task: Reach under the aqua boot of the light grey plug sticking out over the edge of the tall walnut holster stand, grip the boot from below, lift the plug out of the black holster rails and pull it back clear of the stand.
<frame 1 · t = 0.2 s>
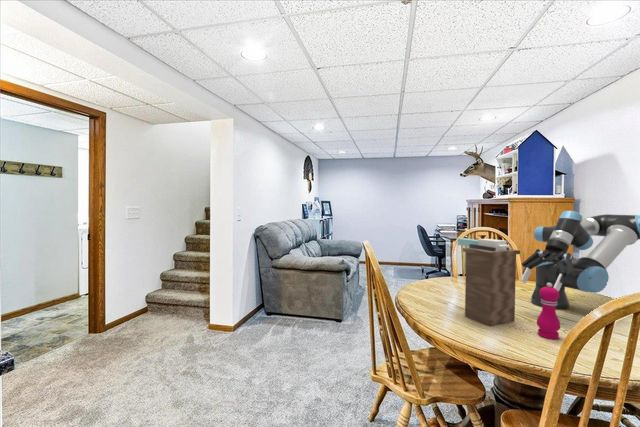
hand: (538, 285, 132), 15 cm above the table, tool tilted 35°, fingers open, 13 cm apart
holster stand: (489, 318, 136), on the table
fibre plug: (482, 248, 139), point 30 cm above the table, touching holster stand
pepper mill: (548, 336, 118), on the table
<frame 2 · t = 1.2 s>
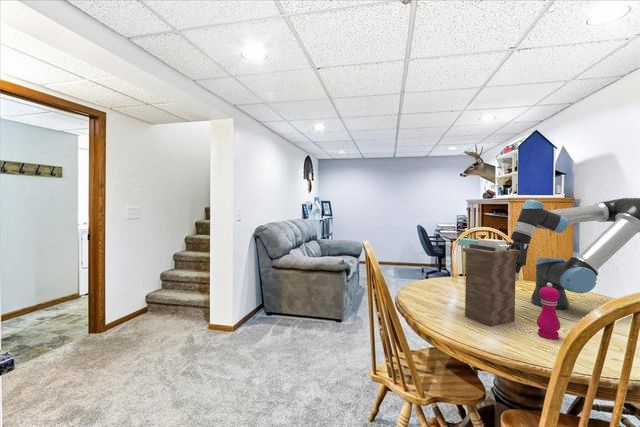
hand: (505, 277, 142), 16 cm above the table, tool tilted 20°, fingers open, 13 cm apart
nothing on the table moved.
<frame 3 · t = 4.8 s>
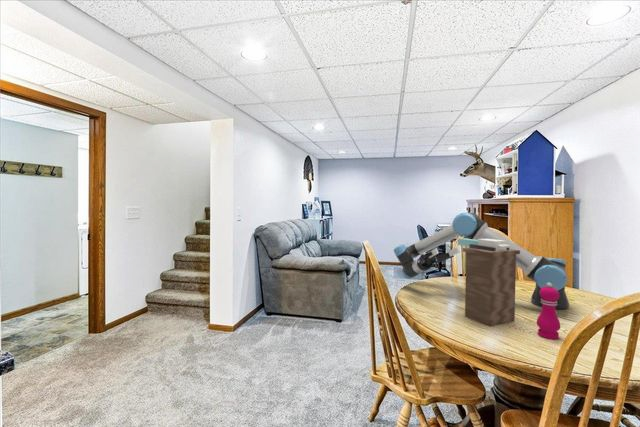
hand: (447, 250, 157), 26 cm above the table, tool pointing upward, fingers open, 13 cm apart
nothing on the table moved.
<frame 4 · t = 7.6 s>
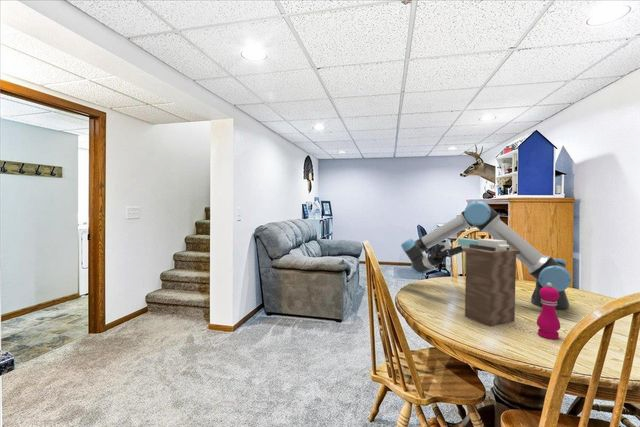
hand: (461, 242, 149), 31 cm above the table, tool pointing upward, fingers open, 13 cm apart
nothing on the table moved.
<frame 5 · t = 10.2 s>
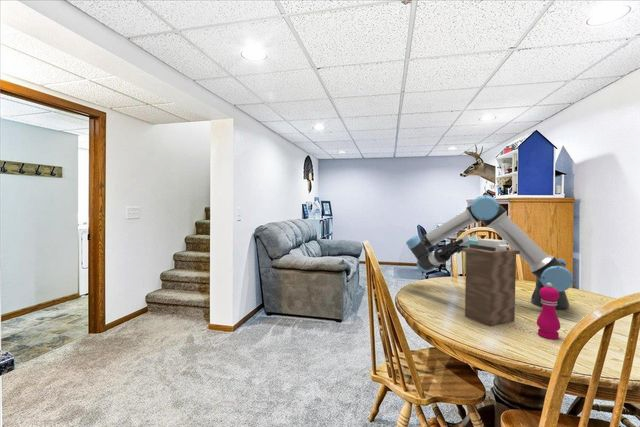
hand: (472, 237, 144), 34 cm above the table, tool pointing upward, fingers closed on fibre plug, 4 cm apart
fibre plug: (482, 248, 139), point 30 cm above the table, touching gripper, holster stand
everything else where it was.
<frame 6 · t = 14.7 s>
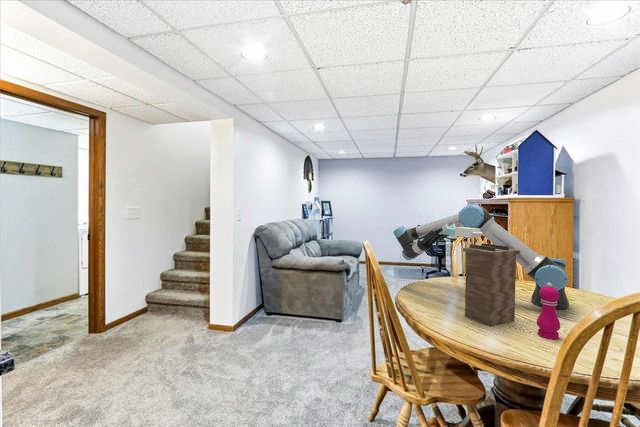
hand: (451, 226, 155), 38 cm above the table, tool pointing upward, fingers closed on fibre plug, 4 cm apart
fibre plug: (459, 235, 150), point 34 cm above the table, touching gripper
everything else where it was.
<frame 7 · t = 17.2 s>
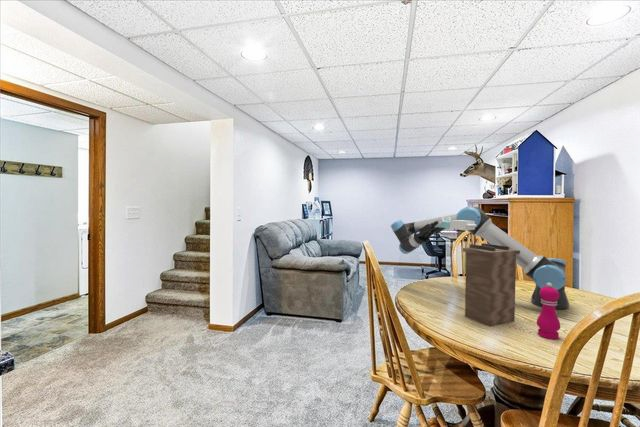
hand: (446, 219, 158), 42 cm above the table, tool pointing upward, fingers closed on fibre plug, 4 cm apart
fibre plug: (454, 228, 153), point 37 cm above the table, touching gripper
everything else where it was.
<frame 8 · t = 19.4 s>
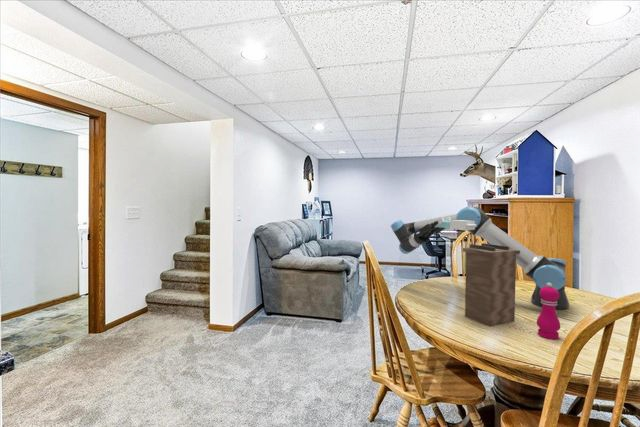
hand: (446, 219, 158), 42 cm above the table, tool pointing upward, fingers closed on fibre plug, 4 cm apart
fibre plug: (454, 228, 153), point 37 cm above the table, touching gripper
everything else where it was.
at the end: the gripper is holding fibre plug; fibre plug moved 17.6 cm from its start; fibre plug touching gripper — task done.
